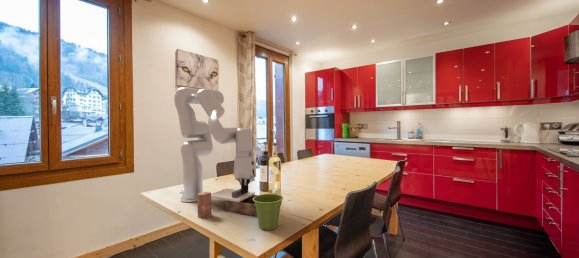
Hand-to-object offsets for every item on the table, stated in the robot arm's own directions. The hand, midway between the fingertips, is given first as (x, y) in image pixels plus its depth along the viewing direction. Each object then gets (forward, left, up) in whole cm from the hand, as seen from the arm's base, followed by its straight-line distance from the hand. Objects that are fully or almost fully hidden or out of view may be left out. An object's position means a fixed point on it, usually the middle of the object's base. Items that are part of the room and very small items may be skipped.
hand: (244, 192), depth 113 cm
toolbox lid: (-8, 0, -2) cm, 8 cm away
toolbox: (+3, 0, -8) cm, 8 cm away
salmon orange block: (-11, -14, -8) cm, 20 cm away
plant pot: (+20, -12, -8) cm, 25 cm away
